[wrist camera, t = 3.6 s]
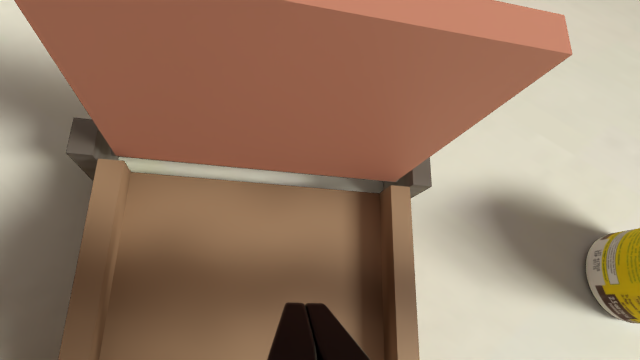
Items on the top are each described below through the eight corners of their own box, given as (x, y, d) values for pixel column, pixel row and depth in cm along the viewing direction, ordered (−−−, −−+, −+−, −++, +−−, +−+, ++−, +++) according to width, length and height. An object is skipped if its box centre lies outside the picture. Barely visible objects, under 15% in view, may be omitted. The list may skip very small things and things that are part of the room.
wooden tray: (410, 419, 20) (453, 443, 17) (40, 436, 17) (-10, 472, 13) (398, 178, 24) (431, 155, 21) (98, 150, 21) (72, 115, 17)
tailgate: (393, 187, 21) (582, 56, 10) (112, 161, 18) (-42, -61, 7) (392, 165, 22) (573, 17, 11) (117, 137, 19) (-24, -109, 8)
